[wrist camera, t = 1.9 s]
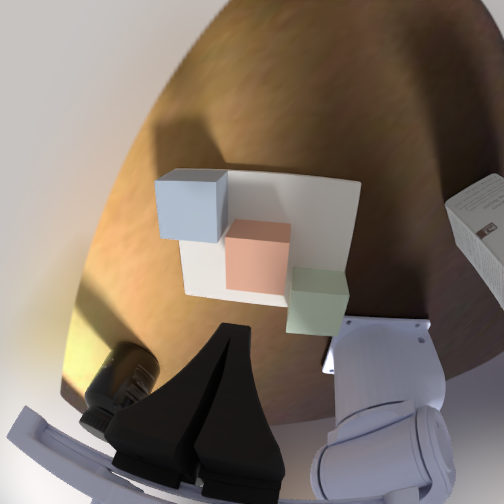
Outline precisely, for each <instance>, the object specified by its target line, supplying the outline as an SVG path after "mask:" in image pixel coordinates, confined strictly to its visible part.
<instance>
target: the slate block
mask: <svg viewBox="0 0 504 504" xmlns="http://www.w3.org/2000/svg"><path fill="white" fill-rule="evenodd" d="M155 192H156V203H157V212H158V221H159V230H160V238H164V239H174V240H185V241H196V242H206V243H216V244H217V243H218V242H219V240H220V238H221V236H222V235H223V233H224V231H225V229H226V227H227V226H228V171H221V170H172V171H170V172H168V173H167V174H165V175H163V176H162V177H160V178H158V179H156V180H155Z"/></svg>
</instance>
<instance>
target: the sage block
mask: <svg viewBox="0 0 504 504" xmlns="http://www.w3.org/2000/svg"><path fill="white" fill-rule="evenodd" d="M349 296H350V295H349V290H348V285H347V281H346V276H345V272H340V271H329V270H319V269H309V268H299V267H293V274H292V282H291V290H290V297H289V304H288V315H287V326H286V332H288V333H298V334H309V335H322V336H336V337H337V336H338V333H339V330H340V327H341V324H342V320H343V317H344V314H345V310H346V307H347V303H348V300H349Z"/></svg>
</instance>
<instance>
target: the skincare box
mask: <svg viewBox="0 0 504 504" xmlns="http://www.w3.org/2000/svg"><path fill="white" fill-rule="evenodd" d="M445 207H446V210H447V213H448V217H449V220H450V223H451V227H452V231H453V234H454V238H455V242H456V245H457V246H458V247H459V248H460V250H461V251H462V252H463V253H464V254H465V256H466V257H467V258H468V260H469V261H470V262H471V263H472V265H473V266H474V267H475V269H476V270H477V271H478V273H479V274H480V276H481V277H482V278H483V280H484V281H485V283H486V284H487V286H488V287H489V288H490V290H491V291H492V293H493V294H494V296H495V297H496V299H497V300H498V302H499V303H500V305H501V307H502V308H503V310H504V178H503V177H501V176H499V175H498V174H491V175H489V176H487V177H485V178H483V179H481V180H480V181H478V182H476V183H474V184H473V185H471V186H469V187H467V188H466V189H464V190H463V191H461V192H459V193H458V194H456V195H454V196H453V197H451V198H450V199H448V200H447V201H446V203H445Z"/></svg>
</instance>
